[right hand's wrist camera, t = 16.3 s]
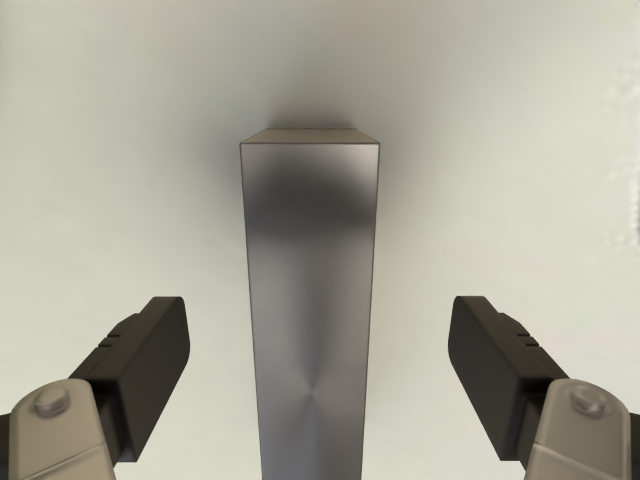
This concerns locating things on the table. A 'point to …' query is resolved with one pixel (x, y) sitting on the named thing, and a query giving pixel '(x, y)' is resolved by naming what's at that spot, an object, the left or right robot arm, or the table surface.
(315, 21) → the table surface
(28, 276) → the table surface
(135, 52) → the table surface
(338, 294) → the bar
